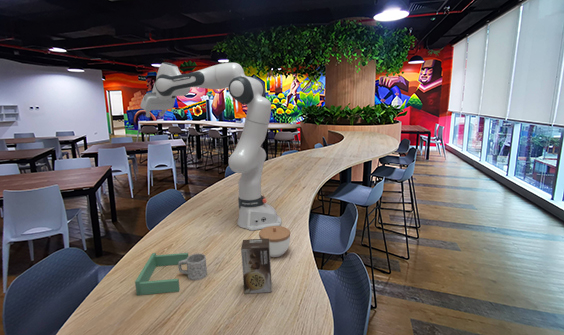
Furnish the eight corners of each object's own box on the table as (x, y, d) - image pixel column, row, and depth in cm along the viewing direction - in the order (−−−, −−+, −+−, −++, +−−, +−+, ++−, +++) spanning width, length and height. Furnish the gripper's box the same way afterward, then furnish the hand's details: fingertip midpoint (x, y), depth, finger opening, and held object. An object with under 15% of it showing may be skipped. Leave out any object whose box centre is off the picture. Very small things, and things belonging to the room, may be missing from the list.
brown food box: (271, 281, 101) (270, 237, 98) (271, 292, 95) (270, 247, 91) (245, 282, 101) (242, 238, 97) (243, 294, 95) (240, 248, 91)
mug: (209, 269, 109) (207, 253, 108) (204, 280, 102) (202, 263, 101) (182, 269, 109) (180, 253, 108) (175, 280, 103) (173, 263, 101)
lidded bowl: (263, 263, 112) (262, 236, 110) (257, 248, 124) (255, 223, 122) (294, 257, 116) (294, 231, 113) (285, 243, 128) (284, 219, 125)
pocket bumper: (189, 262, 114) (187, 250, 113) (178, 291, 97) (177, 277, 95) (154, 264, 113) (152, 253, 112) (136, 295, 95) (134, 281, 94)
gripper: (150, 95, 143) (143, 120, 148) (179, 95, 162) (171, 118, 167) (141, 89, 144) (134, 114, 149) (170, 90, 163) (163, 112, 168)
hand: (154, 116), depth 158 cm, fingers open, 8 cm apart
